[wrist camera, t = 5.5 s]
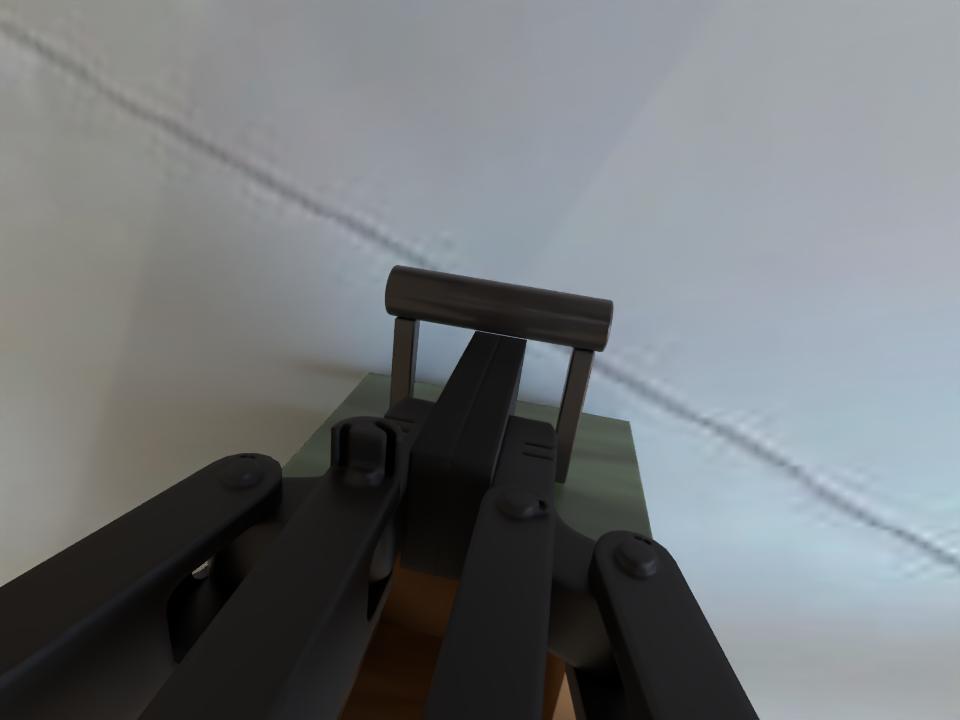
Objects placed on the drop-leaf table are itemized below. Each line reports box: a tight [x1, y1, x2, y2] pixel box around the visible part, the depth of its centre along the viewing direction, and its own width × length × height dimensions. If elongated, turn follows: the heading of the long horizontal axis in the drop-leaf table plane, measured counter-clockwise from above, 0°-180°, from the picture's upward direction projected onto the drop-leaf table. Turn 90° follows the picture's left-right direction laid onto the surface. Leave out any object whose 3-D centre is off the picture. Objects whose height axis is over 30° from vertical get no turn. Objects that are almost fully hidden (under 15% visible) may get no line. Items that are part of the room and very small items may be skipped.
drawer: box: [282, 265, 653, 720], centre depth 19 cm, size 19×10×8 cm, turn 173°
